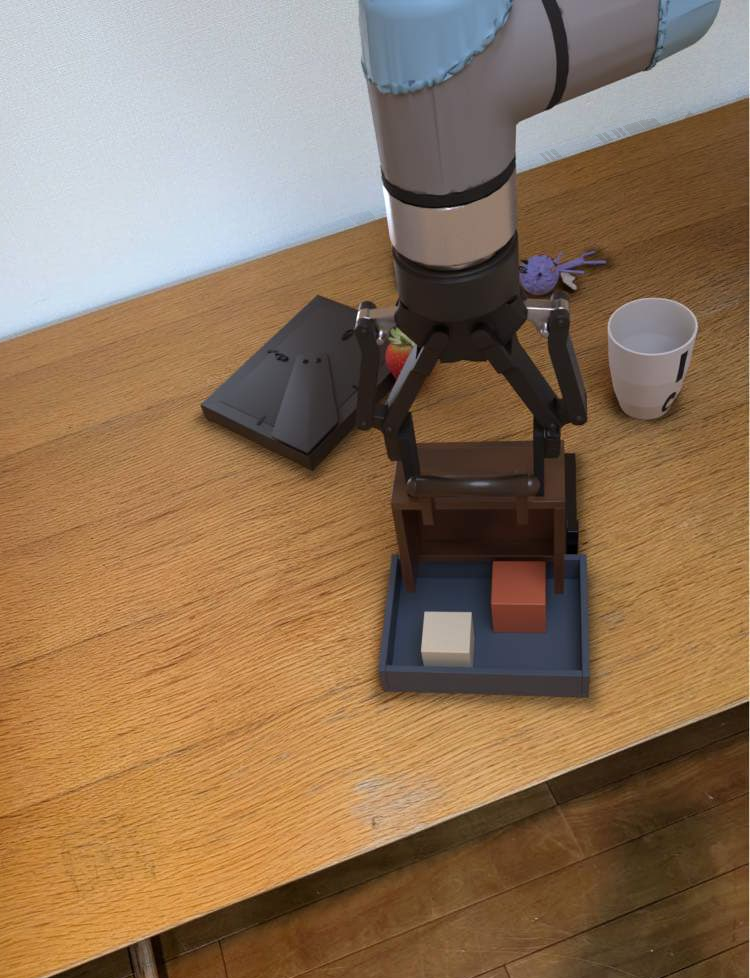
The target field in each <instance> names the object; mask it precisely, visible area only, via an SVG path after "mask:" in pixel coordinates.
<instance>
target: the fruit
mask: <svg viewBox="0 0 750 978" xmlns="http://www.w3.org/2000/svg"><path fill="white" fill-rule="evenodd" d="M391 334H392V335H393V336H394V338H391V337H389V339H388V340H390V344H389V345H388V347H387V350H386V357H385V358H386V364H387V367H388V369H389V370H390V372H391V373H392V374H393V375H394V377H395V378H396V380H397V379H398V377H399V375H400V373H401V371H402V369H403V367H404V365H405V363H406V361H407V359H408V357H409V354H410V352H411V350H412V348H413V346H414V342H413V341H412V340H411V339H409V338H408V337H407V336H406V335H405V334H404V333H403V332H402V331H400V330H399V329H398V328H397V327H396V331H395V330H394V329H393V328H392V329H391Z"/></svg>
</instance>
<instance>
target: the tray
mask: <svg viewBox="0 0 750 978" xmlns="http://www.w3.org/2000/svg"><path fill="white" fill-rule="evenodd" d="M492 567H493V562H421V561H419V564H418V573H417V582H416V591H415V593H407V592H406V588H405V582H404V577H403V571H402V565H401V559H400V554H399V553H392V554H391V559H390V568H389V575H388V584H387V591H386V600H385V601H386V602H385V608H384V617H383V619H384V620H383V628H382V634H381V643H380V651H379V660H378V667H377V669H378V670H377V672H378V675H379V679H380V683H381V686H382V690H383V692H397V693H398V692H399V693H401V692H402V693H430V694H431V693H435V694H460V695H461V694H464V695H465V694H466V695H497V696H499V695H500V696H528V697H529V696H531V697H559V698H561V697H563V698H564V697H565V698H589V697H590V684H591V667H590V666H591V663H590V660H591V659H590V633H589V631H590V630H589V627H590V626H589V625H590V624H589V592H588V591H589V588H588V587H589V586H588V555H587V554H585V553H584V554H583V553H580V554H579V553H578V554H564V594H554V562H546V633H510V632H493V622H492V610H491V590H492ZM424 612H471V613H472V620H473V629H474V656H473V667H435V666H424V664H423V659H422V654H421V645H422V634H423V623H424Z"/></svg>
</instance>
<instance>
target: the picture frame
mask: <svg viewBox="0 0 750 978" xmlns="http://www.w3.org/2000/svg"><path fill="white" fill-rule="evenodd" d="M357 315H358V309H357V308H355V307H352V306H349V305H347V304H344V303H342V302H339V301H336V300H333V299H330V298H328V297H326V296H322V295H320V294H316V295H315V296H314V297H313V298H312V299H311V300H310V301H309V302H308V303H307V304H306V305H305V306H304V307H302V308H301V310H299V311H298V312H297V313H296V314H295V315H294V316H293V317H292V318H291V319H289V321H288V322H286V324H285V325H283V326H282V327H281V328H280V329H279V330H278V331H277V332H276V333H275V334H274V335H273V336H272V337H271V338H269V340H267V341H266V342H265V343H264V344H263V345H262V346H261V347H260V348H259V349H258V350H256V352H255V353H254V354H252V355H251V356H250V357H249V358H247V360H246V361H245V362H244V363H242V364H241V366H240V367H238V369H236V370H235V371H234V372H233V373H232V374H231V375H230V376H229V377H228V378H227V379H226V380H225V381H223V383H221V385H219V386H218V387H217V389H215V390H214V391H213V392H212V393H211V394H210V395H209V396H208V397H207V398H206V399H205V400H203V402H201V403H200V407H201V411H202V413H203V416H204V418H205V419H207V420H209V421H210V422H213V423H214V424H218V425H220V426H222V427H223V428H225V429H228V430H229V431H231V432H234V433H235V434H237V435H239V436H241V437H243V438H245V439H247V440H249V441H252V442H254V443H256V444H257V445H260V446H262V447H264V448H266V449H268V450H270V451H272V452H274V453H275V454H278V455H280V456H282V457H284V458H286V459H288V460H290V461H292V462H293V463H296V464H298V465H301V466H302V467H304V468H306V469H308V470H310V471H312V472H313V471H314V470H315V469H316V468H317V467H318V466H319V465H320V464H321V463H322V462H323V461H324V460H325V459H326V457H328V455H329V454H330V453H331V452H332V451H334V449H335V448H336V447H337V446H338V445H339V444H340V443H341V442H342V441H343V440H344V439H345V437H347V436H348V434H350V432H351V431H352V430H353V429H354V428H356V426H355V420H356V410H357V399H358V388H359V378H360V367H361V357H362V352H361V349H360V346H359V344H358V341H357V338H356V336H355V326H356V320H357ZM393 329H394V330H395V331H396V327H394V328H393ZM390 337H391V338H394V336H393V335H392V334H391V331H390ZM389 344H390V340H386V341H384V344H383V345H382V349H381V357H380V366H379V375H378V383H377V392H376V401H375V402H376V403H380V401H381V400H382V399H383V397H385V396H386V395H387V393H389V391H391V390H392V389H393V387H394V385H395V383H396V381H397V380H396V378H395V377H394V375H393V374H392V373H391V372H390V370H389V369H388V367H387V364H386V358H385V357H386V350H387V347H388V345H389Z"/></svg>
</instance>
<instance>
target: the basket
mask: <svg viewBox="0 0 750 978" xmlns="http://www.w3.org/2000/svg"><path fill="white" fill-rule="evenodd" d="M416 445H417V451H418V458H419V464H420V476H413V477H411V478H410V479H409V480H408V482H407V485H406V482H405V476H404V471H403V465H402V461H395V462H396V463H395V469H394V477H393V482H392V489H391V496H390V497H391V498H390V508H391V513H392V520H393V524H394V530H395V537H396V541H397V547H398V555H399V554H400V559H401V565H402V571H403V577H404V582H405V588H406V592H407V593H415V591H416V582H417V573H418V564H419V561H421V562H493V561H545V562H554V594H564V545H565V459H564V453H565V439H561V449H560V455H559V457H558V458H544V495H535V494H536V493H537V492H538V490H539V488H540V482H539V480H538V478H537V477H536V476H534V463H533V439H532V440H531V439H527V440H488V441H487V440H485V441H481V440H480V441H439V442H416ZM407 491H408V493H409V494H410V495H411V496H408V494H407Z"/></svg>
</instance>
